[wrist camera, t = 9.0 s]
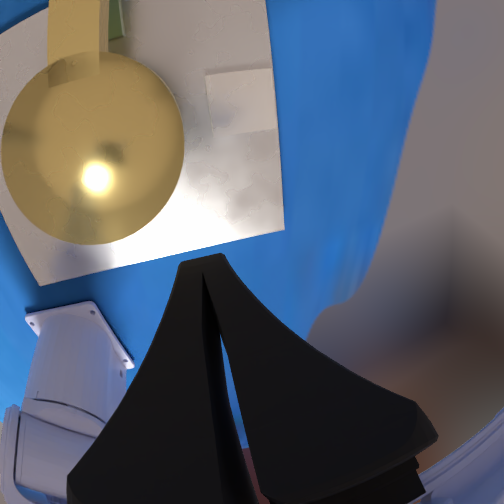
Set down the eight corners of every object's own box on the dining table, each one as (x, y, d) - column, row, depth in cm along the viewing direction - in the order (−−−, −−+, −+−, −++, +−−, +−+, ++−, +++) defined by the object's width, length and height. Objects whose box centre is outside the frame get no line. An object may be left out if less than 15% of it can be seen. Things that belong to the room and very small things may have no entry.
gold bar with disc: (187, 192, 16) (192, 232, 13) (57, 212, 15) (30, 255, 11) (184, -50, 8) (189, -87, 4) (36, -16, 6) (-1, -33, 3)
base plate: (279, 222, 21) (301, 255, 18) (43, 278, 18) (28, 316, 15) (255, -34, 10) (277, -59, 7) (-30, 61, 8) (-67, 67, 4)
